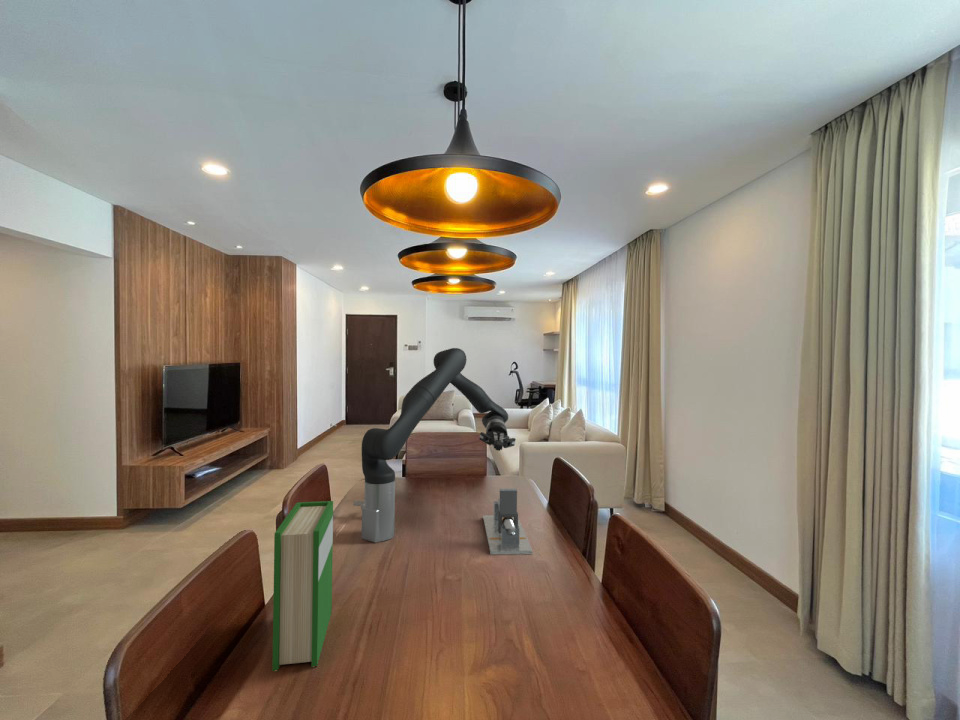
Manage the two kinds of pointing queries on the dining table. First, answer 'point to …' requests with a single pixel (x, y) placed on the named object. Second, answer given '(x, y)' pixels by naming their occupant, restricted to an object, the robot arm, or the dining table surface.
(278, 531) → the hardback book
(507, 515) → the grey tall slab
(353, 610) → the dining table surface
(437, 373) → the robot arm
